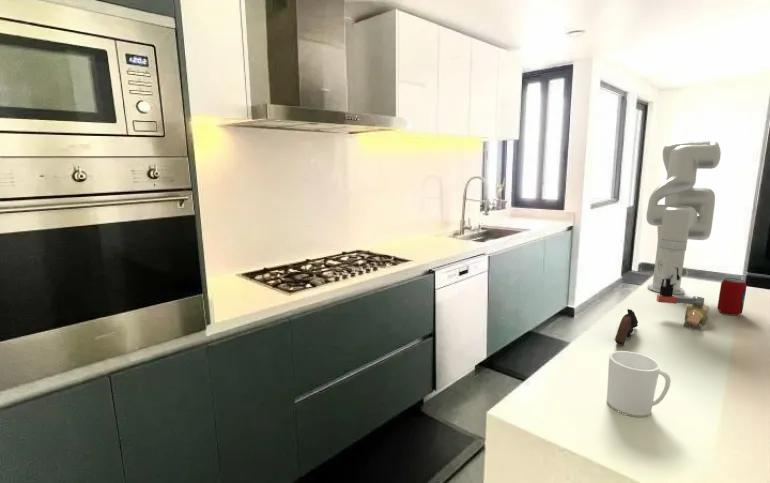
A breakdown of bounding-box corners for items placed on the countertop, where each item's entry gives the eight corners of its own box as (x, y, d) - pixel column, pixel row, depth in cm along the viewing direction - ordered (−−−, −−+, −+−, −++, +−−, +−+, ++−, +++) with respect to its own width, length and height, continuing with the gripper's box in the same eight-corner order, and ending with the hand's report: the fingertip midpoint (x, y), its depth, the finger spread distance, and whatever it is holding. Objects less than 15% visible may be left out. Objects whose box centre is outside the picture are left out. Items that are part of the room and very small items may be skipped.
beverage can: (747, 316, 139) (753, 282, 137) (727, 316, 139) (732, 282, 137) (731, 309, 146) (736, 277, 144) (711, 309, 146) (717, 277, 144)
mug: (598, 405, 85) (603, 360, 83) (612, 390, 91) (616, 347, 90) (659, 429, 77) (666, 380, 76) (670, 410, 84) (677, 364, 82)
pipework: (689, 310, 144) (691, 297, 143) (707, 314, 141) (710, 300, 140) (681, 327, 128) (683, 312, 127) (701, 332, 125) (704, 316, 124)
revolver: (611, 339, 114) (621, 301, 116) (621, 354, 126) (630, 319, 129) (624, 342, 111) (634, 303, 114) (633, 357, 124) (642, 322, 127)
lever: (700, 304, 135) (701, 296, 134) (705, 307, 132) (706, 299, 131) (655, 300, 138) (656, 293, 138) (659, 303, 135) (660, 296, 135)
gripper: (651, 240, 143) (645, 290, 146) (668, 248, 129) (661, 303, 132) (676, 241, 141) (669, 292, 144) (696, 249, 127) (687, 305, 130)
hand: (665, 297), depth 138 cm, fingers closed
